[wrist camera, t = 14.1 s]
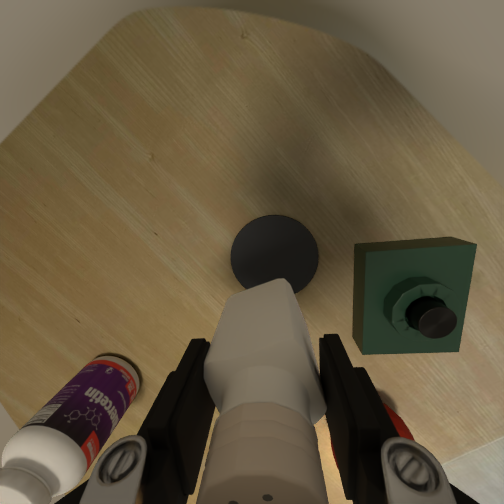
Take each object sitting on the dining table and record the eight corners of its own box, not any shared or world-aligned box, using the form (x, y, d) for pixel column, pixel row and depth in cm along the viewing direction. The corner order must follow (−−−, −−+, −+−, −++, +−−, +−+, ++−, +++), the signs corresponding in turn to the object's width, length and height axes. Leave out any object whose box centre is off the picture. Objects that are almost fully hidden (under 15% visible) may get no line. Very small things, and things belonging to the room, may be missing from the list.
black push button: (407, 297, 22) (420, 308, 20) (443, 295, 22) (460, 306, 20) (404, 326, 23) (416, 339, 21) (438, 325, 23) (455, 338, 21)
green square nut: (354, 243, 26) (373, 257, 21) (451, 236, 25) (495, 249, 20) (352, 336, 29) (368, 367, 24) (438, 333, 28) (473, 364, 23)
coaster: (225, 219, 26) (225, 219, 26) (316, 210, 25) (317, 211, 25) (236, 299, 29) (235, 301, 28) (318, 295, 28) (319, 296, 27)
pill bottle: (152, 389, 34) (71, 530, 20) (108, 402, 35) (3, 543, 21) (123, 344, 32) (11, 466, 18) (78, 361, 33) (-58, 486, 20)
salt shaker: (250, 344, 15) (221, 579, 6) (225, 293, 14) (148, 479, 5) (308, 327, 15) (371, 560, 6) (285, 271, 14) (318, 442, 5)
